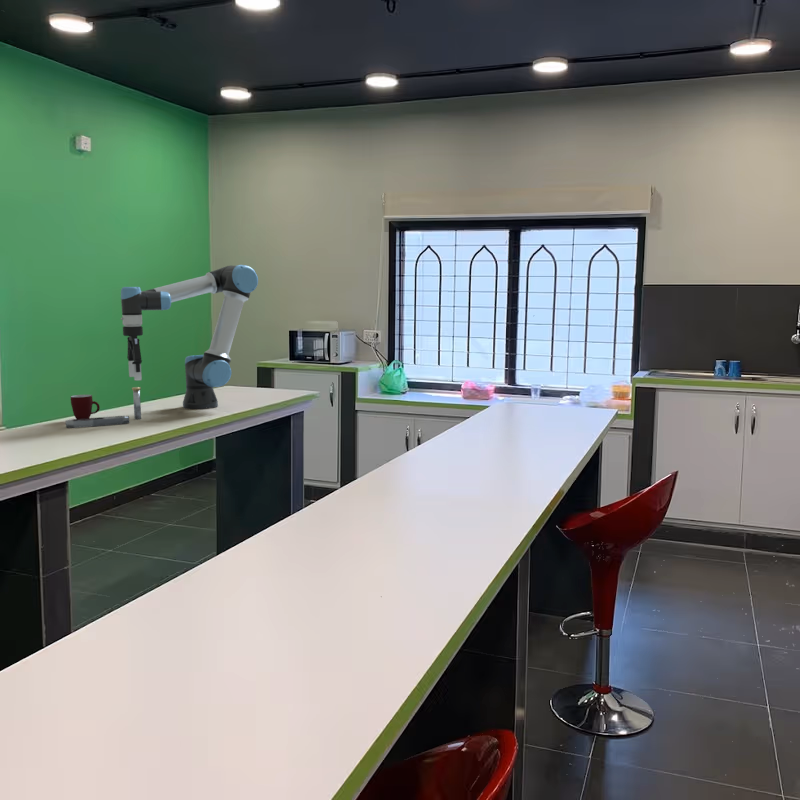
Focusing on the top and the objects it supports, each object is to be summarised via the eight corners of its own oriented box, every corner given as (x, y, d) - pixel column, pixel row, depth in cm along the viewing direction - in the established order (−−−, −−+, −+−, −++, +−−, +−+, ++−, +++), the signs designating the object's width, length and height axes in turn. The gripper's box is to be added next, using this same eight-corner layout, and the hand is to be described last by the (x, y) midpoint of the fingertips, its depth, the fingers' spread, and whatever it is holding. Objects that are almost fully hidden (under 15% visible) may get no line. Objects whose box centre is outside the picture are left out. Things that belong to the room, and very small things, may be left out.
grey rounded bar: (128, 421, 314) (127, 415, 314) (130, 423, 310) (129, 417, 310) (65, 426, 304) (65, 419, 304) (66, 428, 299) (66, 422, 299)
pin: (141, 417, 323) (139, 386, 321) (142, 419, 320) (141, 387, 318) (132, 418, 321) (131, 387, 319) (134, 419, 318) (132, 388, 316)
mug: (98, 417, 324) (96, 393, 322) (101, 420, 317) (100, 395, 315) (70, 420, 318) (69, 395, 317) (73, 422, 312) (72, 397, 310)
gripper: (118, 324, 324) (121, 375, 327) (127, 327, 302) (130, 382, 305) (137, 324, 327) (140, 374, 331) (147, 326, 305) (150, 381, 309)
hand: (135, 378), depth 318 cm, fingers open, 13 cm apart
